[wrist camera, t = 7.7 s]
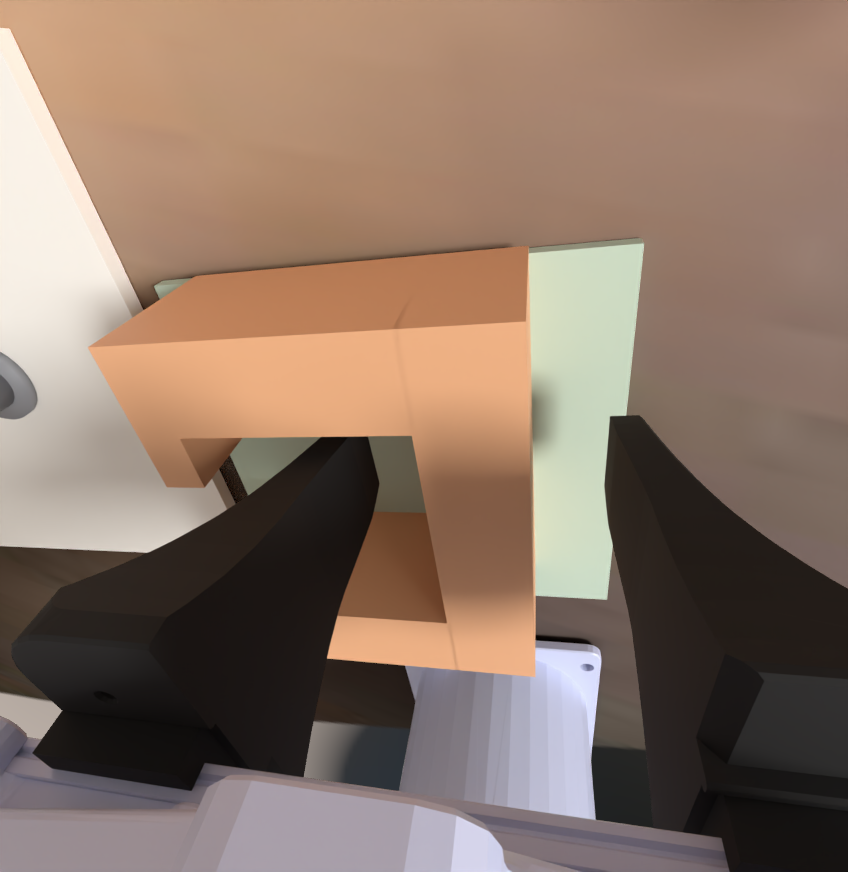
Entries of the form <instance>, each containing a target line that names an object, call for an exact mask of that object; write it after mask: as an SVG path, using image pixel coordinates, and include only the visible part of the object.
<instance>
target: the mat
mask: <svg viewBox="0 0 848 872" xmlns="http://www.w3.org/2000/svg"><path fill="white" fill-rule="evenodd" d="M643 250H644V242H643V240H642V239H641V238H634V239H622V240H611V241H600V242H589V243H578V244H567V245H556V246H544V247H533V248H529V288H530V334H531V380H532V426H533V473H534V519H535V596H552V597H570V598H588V599H606V600H607V593H608V584H609V574H610V565H611V555H612V546H613V543H612V539H611V535H610V530H609V526H608V518H607V509H606V499H605V488H604V482H605V470H606V458H607V446H608V434H609V422H610V416H626V412H627V402H628V393H629V383H630V374H631V364H632V355H633V345H634V335H635V326H636V316H637V307H638V297H639V288H640V278H641V269H642V259H643ZM190 279H192V278H187V279H176V280H165V281H161V282H160V283H158V284H156V285H155V286H154V288H155V290H156V292H157V294H158V296H159V299H162V298H163V297H165V296H166V295H168V294H169V293H171V292H172V291H174V290H175V289H177V288H178V287H180V286H181V285H183V284H184V283H186V282H187V281H189V280H190ZM319 438H320V437H273V438H242V439H241V441H240V442H239V443H238V445H237V446H236V447H235V449H234V450H233V451H232V453H231V454H230V456H231V458H232V461H233V463H234V465H235V467H236V469H237V472H238V474H239V476H240V478H241V481H242V483H243V485H244V487H245V489H246V492H247V494H248V495H250V494H251V493H252V492H254V491H255V490H256V489H258V488H259V487H260V486H262V485H263V484H264V483H266V482H267V481H268V480H269V479H271V478H272V477H273V476H275V475H276V474H277V473H279V472H280V471H281V470H282V469H284V468H285V467H286V466H287V465H289V464H290V463H291V462H292V461H293V460H295V459H296V458H297V457H298V456H299V455H300V454H302V453H303V452H304V451H305V450H306V449H308V448H309V447H310V446H311V445H312V444H313V443H315V442H316V441H317V440H318V439H319ZM368 439H369V443H370V447H371V451H372V455H373V459H374V463H375V467H376V471H377V475H378V479H379V483H380V484H379V489H378V494H377V499H376V504H375V508H374V512H411V513H426V509H425V504H424V498H423V493H422V488H421V482H420V477H419V472H418V466H417V461H416V456H415V451H414V445H413V440H412V436H368Z"/></svg>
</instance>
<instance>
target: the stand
mask: <svg viewBox="0 0 848 872" xmlns="http://www.w3.org/2000/svg"><path fill="white" fill-rule="evenodd" d="M142 311H143V308H142V306H141V304H140V302H139V300H138V298H137V296H136V293H135V291H134V289H133V287H132V285H131V283H130V281H129V279H128V277H127V275H126V272H125V270H124V268H123V266H122V264H121V262H120V260H119V258H118V256H117V254H116V251H115V249H114V247H113V245H112V243H111V241H110V239H109V237H108V235H107V232H106V230H105V228H104V226H103V224H102V222H101V220H100V218H99V216H98V214H97V211H96V209H95V207H94V205H93V203H92V201H91V199H90V197H89V195H88V193H87V190H86V188H85V186H84V184H83V182H82V180H81V178H80V176H79V174H78V172H77V169H76V167H75V165H74V163H73V161H72V159H71V157H70V155H69V153H68V151H67V148H66V146H65V144H64V142H63V140H62V138H61V136H60V134H59V132H58V130H57V127H56V125H55V123H54V121H53V119H52V117H51V115H50V113H49V111H48V109H47V106H46V104H45V102H44V100H43V98H42V96H41V94H40V92H39V90H38V88H37V85H36V83H35V81H34V79H33V77H32V75H31V73H30V71H29V69H28V66H27V64H26V62H25V60H24V58H23V56H22V54H21V52H20V50H19V48H18V45H17V43H16V41H15V39H14V37H13V35H12V33H11V31H10V29H7V28H0V546H12V547H34V548H56V549H79V550H101V551H123V552H145V553H148V552H151V551H153V550H155V549H157V548H159V547H161V546H163V545H165V544H167V543H169V542H171V541H173V540H175V539H177V538H179V537H180V536H182V535H184V534H186V533H188V532H189V531H191V530H193V529H195V528H197V527H199V526H200V525H202V524H204V523H206V522H208V521H209V520H211V519H213V518H214V517H216V516H218V515H219V514H221V513H222V512H224V511H226V510H227V509H229V508H230V507H232V506H233V505H235V501H234V499H233V497H232V495H231V493H230V491H229V489H228V487H227V485H226V483H225V480H224V478H223V476H222V474H221V472H220V470H218V471H217V472H216V474H215V475H214V476H213V478H212V479H211V480H210V482H209V483H208V484H207V486H206V487H205V488H177V487H166V485H165V483H164V481H163V480H162V478H161V476H160V474H159V472H158V471H157V469H156V467H155V465H154V464H153V462H152V460H151V458H150V457H149V455H148V453H147V451H146V450H145V448H144V446H143V444H142V442H141V441H140V439H139V437H138V435H137V434H136V432H135V430H134V428H133V427H132V425H131V423H130V421H129V420H128V418H127V416H126V414H125V412H124V411H123V409H122V407H121V405H120V404H119V402H118V400H117V398H116V397H115V395H114V393H113V391H112V390H111V388H110V386H109V384H108V382H107V381H106V379H105V377H104V375H103V374H102V372H101V370H100V368H99V367H98V365H97V363H96V361H95V360H94V358H93V356H92V354H91V352H90V351H89V349H88V347H89V346H91V345H92V344H94V343H95V342H97V341H98V340H100V339H101V338H103V337H104V336H106V335H107V334H109V333H110V332H112V331H113V330H115V329H116V328H118V327H119V326H121V325H122V324H124V323H125V322H127V321H128V320H130V319H131V318H133V317H134V316H136V315H137V314H139V313H140V312H142Z"/></svg>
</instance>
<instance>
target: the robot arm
mask: <svg viewBox="0 0 848 872" xmlns="http://www.w3.org/2000/svg"><path fill="white" fill-rule="evenodd" d="M379 484H380V483H379V479H378V475H377V471H376V467H375V463H374V459H373V455H372V451H371V447H370V443H369V439H368V436H357V437H320V438H319V439H318V440H317V441H316V442H315V443H313V444H312V445H311V446H310V447H309V448H308V449H306V450H305V451H304V452H303V453H302V454H300V455H299V456H298V457H297V458H296V459H295V460H293V461H292V462H291V463H290V464H289V465H287V466H286V467H285V468H284V469H282V470H281V471H280V472H279V473H277V474H276V475H275V476H273V477H272V478H271V479H269V480H268V481H267V482H266V483H264V484H263V485H262V486H260V487H259V488H258V489H256V490H255V491H254V492H252V493H251V494H250V495H248V496H247V497H245V498H244V499H242V500H241V501H239V502H238V503H236V504H235V505H233V506H232V507H230V508H229V509H227V510H226V511H224V512H222V513H221V514H219V515H218V516H216V517H214V518H213V519H211V520H209V521H208V522H206V523H204V524H202V525H200V526H199V527H197V528H195V529H193V530H191V531H189V532H188V533H186V534H184V535H182V536H180V537H179V538H177V539H175V540H173V541H171V542H169V543H167V544H165V545H163V546H161V547H159V548H157V549H155V550H153V551H151V552H148V553H146V554H144V555H142V556H140V557H137V558H135V559H133V560H131V561H128V562H126V563H124V564H121V565H119V566H117V567H114V568H112V569H109V570H107V571H104V572H101V573H99V574H96V575H94V576H91V577H88V578H86V579H83V580H81V581H78V582H76V583H73V584H70V585H67V586H64V587H62V588H60V589H59V590H58V591H57V593H56V594H55V595H54V596H53V597H52V598H51V599H50V601H49V602H48V603H47V604H46V605H45V606H44V608H43V609H42V610H41V611H40V612H39V613H38V614H37V616H36V617H35V618H34V619H33V620H32V621H31V622H30V624H29V625H28V626H27V627H26V628H25V629H24V631H23V632H22V633H21V634H20V635H19V636H18V637H17V639H16V640H15V641H14V642H13V643H12V650H11V653H12V658H13V660H14V662H15V664H16V666H17V667H18V669H19V670H20V671H21V672H22V673H23V674H24V675H25V676H26V677H27V678H28V679H29V680H30V681H31V682H32V683H33V684H34V685H35V686H36V687H37V688H39V689H40V690H41V691H42V692H43V693H44V694H45V695H46V696H47V697H48V698H49V699H50V700H52V701H53V702H54V703H55V704H56V705H57V706H58V707H59V708H60V709H61V710H63V711H62V712H61V713H60V715H59V716H58V718H57V719H56V720H55V722H54V723H53V725H52V726H51V727H50V729H49V730H48V732H47V733H46V734H45V736H44V737H43V738H42V739H36V738H29V737H27V736H26V733H25V732H24V731H23V730H22V729H21V728H20V727H18V726H17V725H16V724H15V723H13V722H12V721H10V720H8V719H6V718H4V717H1V716H0V872H848V589H847V588H845V587H844V586H842V585H840V584H838V583H837V582H835V581H833V580H832V579H830V578H828V577H827V576H825V575H823V574H822V573H820V572H818V571H817V570H815V569H813V568H812V567H810V566H808V565H807V564H805V563H804V562H802V561H801V560H799V559H798V558H796V557H795V556H793V555H792V554H790V553H789V552H787V551H786V550H784V549H783V548H781V547H779V546H778V545H777V544H775V543H774V542H772V541H771V540H769V539H768V538H767V537H765V536H764V535H762V534H761V533H760V532H758V531H757V530H756V529H755V528H753V527H752V526H751V525H749V524H748V523H747V522H745V521H744V520H743V519H742V518H740V517H739V516H738V515H736V514H735V513H734V512H733V511H731V510H730V509H729V508H728V507H727V506H725V505H724V504H723V503H722V502H721V501H720V500H719V499H718V498H717V497H715V496H714V495H713V494H712V493H711V492H710V491H709V490H708V489H707V488H706V487H705V486H704V485H703V484H702V483H701V482H700V481H698V480H697V479H696V478H695V477H694V476H693V474H692V473H691V472H690V471H689V470H688V469H687V468H686V467H685V466H684V465H683V464H682V463H681V462H680V461H679V460H678V459H677V458H676V457H675V456H674V455H673V453H672V452H671V451H670V450H669V449H668V448H667V447H666V445H665V444H664V443H663V442H662V441H661V440H660V439H659V437H658V436H657V435H656V434H655V433H654V431H653V430H652V429H651V428H650V427H649V425H648V424H647V423H646V422H645V420H644V419H643V418H642V417H640V416H639V415H637V416H610V422H609V434H608V446H607V458H606V470H605V482H604V488H605V499H606V509H607V518H608V526H609V530H610V535H611V539H612V543H613V548H614V552H615V556H616V561H617V565H618V569H619V573H620V577H621V582H622V586H623V590H624V594H625V599H626V603H627V607H628V612H629V617H630V622H631V628H632V634H633V642H634V650H635V658H636V666H637V674H638V683H639V691H640V700H641V708H642V717H643V726H644V736H645V746H646V755H647V764H648V773H649V785H650V796H651V806H652V817H653V828H648V827H641V826H635V825H627V824H621V823H614V822H607V821H600V820H595V809H594V795H593V783H592V770H591V752H592V743H593V733H594V724H595V714H596V705H597V696H598V686H599V677H600V667H601V653H600V650H599V649H598V648H597V647H595V646H593V645H589V644H579V643H566V642H552V641H539V640H535V677H529V676H517V675H506V674H495V673H484V672H473V671H462V670H450V669H439V668H428V667H417V666H406V665H405V668H406V671H407V674H408V678H409V681H410V685H411V688H412V692H413V695H414V699H415V707H414V713H413V718H412V723H411V729H410V735H409V740H408V746H407V751H406V756H405V761H404V767H403V772H402V778H401V784H400V789H399V791H393V790H387V789H380V788H373V787H366V786H359V785H352V784H346V783H339V782H332V781H324V780H318V779H311V778H304V771H305V765H306V759H307V753H308V748H309V742H310V736H311V731H312V726H313V721H314V716H315V711H316V706H317V701H318V696H319V691H320V686H321V682H322V678H323V673H324V669H325V664H326V660H327V656H328V651H329V647H330V643H331V639H332V635H333V631H334V627H335V623H336V620H337V616H338V612H339V608H340V605H341V602H342V599H343V596H344V593H345V590H346V588H347V585H348V582H349V580H350V577H351V574H352V572H353V569H354V566H355V564H356V561H357V558H358V556H359V553H360V550H361V548H362V545H363V542H364V540H365V537H366V534H367V531H368V529H369V526H370V523H371V520H372V517H373V513H374V508H375V504H376V499H377V494H378V489H379Z"/></svg>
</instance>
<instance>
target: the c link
mask: <svg viewBox="0 0 848 872" xmlns="http://www.w3.org/2000/svg"><path fill="white" fill-rule="evenodd" d="M88 349H89V351H90V352H91V354H92V356H93V358H94V360H95V361H96V363H97V365H98V367H99V368H100V370H101V372H102V374H103V375H104V377H105V379H106V381H107V382H108V384H109V386H110V388H111V390H112V391H113V393H114V395H115V397H116V398H117V400H118V402H119V404H120V405H121V407H122V409H123V411H124V412H125V414H126V416H127V418H128V420H129V421H130V423H131V425H132V427H133V428H134V430H135V432H136V434H137V435H138V437H139V439H140V441H141V442H142V444H143V446H144V448H145V450H146V451H147V453H148V455H149V457H150V458H151V460H152V462H153V464H154V465H155V467H156V469H157V471H158V472H159V474H160V476H161V478H162V480H163V481H164V483H165V485H166V487H177V488H205V487H206V486H207V484H208V483H209V482H210V480H211V479H212V478H213V476H214V475H215V474H216V472H217V471H218V470H219V468H220V467H221V466H222V464H223V463H224V462H225V460H226V459H227V458H228V457H229V455H230V454H231V453H232V451H233V450H234V449H235V447H236V446H237V445H238V443H239V442H240V441H241V439H242V438H273V437H357V436H412V440H413V445H414V451H415V456H416V461H417V466H418V472H419V477H420V482H421V488H422V493H423V498H424V504H425V509H426V513H411V512H374V513H373V517H372V520H371V523H370V526H369V529H368V531H367V534H366V537H365V540H364V542H363V545H362V548H361V550H360V553H359V556H358V558H357V561H356V564H355V566H354V569H353V572H352V574H351V577H350V580H349V582H348V585H347V588H346V590H345V593H344V596H343V599H342V602H341V605H340V608H339V612H338V616H337V620H336V623H335V627H334V631H333V635H332V639H331V643H330V647H329V651H328V656H327V659H338V660H350V661H361V662H372V663H383V664H394V665H406V666H417V667H428V668H439V669H450V670H462V671H473V672H484V673H495V674H506V675H517V676H529V677H535V519H534V473H533V426H532V380H531V334H530V288H529V246H520V247H509V248H498V249H487V250H476V251H465V252H454V253H443V254H432V255H421V256H410V257H399V258H388V259H377V260H366V261H355V262H344V263H333V264H322V265H311V266H300V267H289V268H278V269H267V270H256V271H245V272H234V273H223V274H212V275H201V276H195V277H193V278H192V279H190V280H189V281H187V282H186V283H184V284H183V285H181V286H180V287H178V288H177V289H175V290H174V291H172V292H171V293H169V294H168V295H166V296H165V297H163V298H162V299H160V300H159V301H157V302H156V303H154V304H153V305H151V306H150V307H148V308H146V309H145V310H143V311H142V312H140V313H139V314H137V315H136V316H134V317H133V318H131V319H130V320H128V321H127V322H125V323H124V324H122V325H121V326H119V327H118V328H116V329H115V330H113V331H112V332H110V333H109V334H107V335H106V336H104V337H103V338H101V339H100V340H98V341H97V342H95V343H94V344H92V345H91V346H89V347H88Z"/></svg>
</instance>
